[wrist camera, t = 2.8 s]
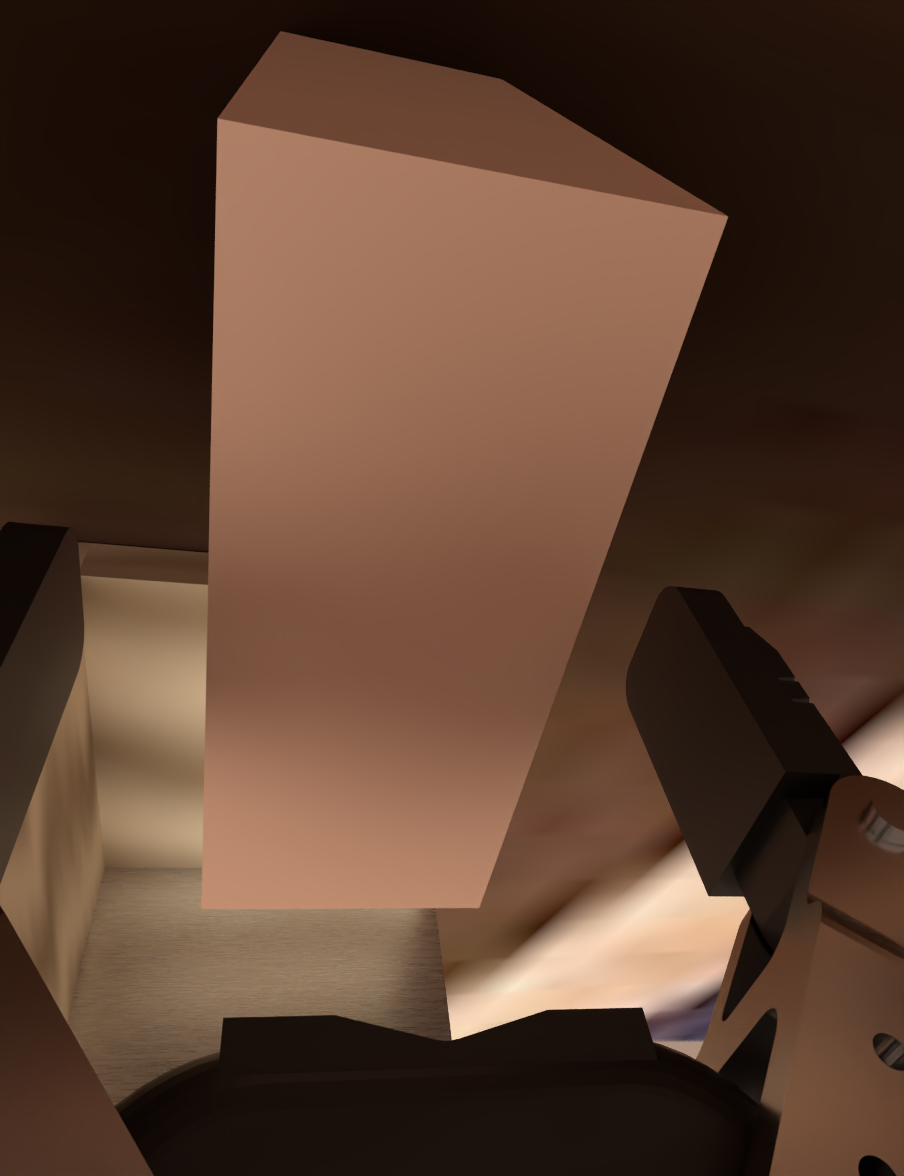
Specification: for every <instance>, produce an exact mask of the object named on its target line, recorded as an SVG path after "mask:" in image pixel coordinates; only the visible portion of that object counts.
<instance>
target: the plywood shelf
mask: <svg viewBox="0 0 904 1176" xmlns="http://www.w3.org/2000/svg"><path fill="white" fill-rule="evenodd" d="M78 546H79V560H80V573H81V586H82V600H83V613H84V645H83V653H82V659H81V664H80V668H79V671H78V674H77V677H76V680H75V682H74V685H73V688H72V691H71V693H70V696H69V699H68V701H67V704H66V707H65V710H64V712H63V715H62V718H61V721H60V723H59V726H58V729H57V731H56V734H55V737H54V740H53V742H52V745H51V748H50V750H49V753H48V756H47V759H46V761H45V764H44V767H43V769H42V772H41V775H40V778H39V780H38V783H37V786H36V788H35V791H34V794H33V797H32V799H31V802H30V805H29V808H28V810H27V813H26V816H25V818H24V821H23V824H22V827H21V829H20V832H19V835H18V837H17V840H16V843H15V846H14V848H13V851H12V854H11V856H10V859H9V862H8V865H7V867H6V870H5V873H4V875H3V878H2V881H1V884H0V906H1V908H2V909H3V911H4V912H5V914H6V915H7V917H8V919H9V920H10V922H11V924H12V926H13V927H14V929H15V931H16V933H17V935H18V936H19V938H20V940H21V942H22V943H23V945H24V947H25V949H26V950H27V952H28V954H29V956H30V958H31V959H32V961H33V963H34V965H35V966H36V968H37V970H38V972H39V973H40V975H41V977H42V979H43V981H44V982H45V984H46V986H47V988H48V989H49V991H50V993H51V995H52V997H53V998H54V1000H55V1002H56V1004H57V1005H58V1007H59V1009H60V1011H61V1012H62V1014H63V1016H64V1018H65V1020H66V1021H67V1020H68V1015H69V1011H70V1007H71V1003H72V999H73V995H74V991H75V987H76V983H77V979H78V975H79V970H80V966H81V962H82V958H83V954H84V950H85V946H86V942H87V938H88V934H89V929H90V925H91V921H92V917H93V913H94V909H95V905H96V901H97V897H98V893H99V888H100V884H101V880H102V876H103V872H104V868H202V857H203V809H204V760H205V711H206V662H207V613H208V565H209V553H205V552H192V551H180V550H168V549H156V548H144V547H132V546H120V545H108V544H96V543H84V542H78Z"/></svg>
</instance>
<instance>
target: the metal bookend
mask: <svg viewBox="0 0 904 1176" xmlns="http://www.w3.org/2000/svg"><path fill="white" fill-rule="evenodd" d="M201 906H202V868H104V872H103V876H102V880H101V884H100V888H99V893H98V897H97V901H96V905H95V909H94V913H93V917H92V921H91V925H90V929H89V934H88V938H87V942H86V946H85V950H84V954H83V958H82V962H81V966H80V970H79V975H78V979H77V983H76V987H75V991H74V995H73V999H72V1003H71V1007H70V1011H69V1015H68V1020H67V1023H68V1025H69V1027H70V1028H71V1030H72V1032H73V1034H74V1035H75V1037H76V1039H77V1041H78V1043H79V1044H80V1046H81V1048H82V1050H83V1051H84V1053H85V1055H86V1057H87V1058H88V1060H89V1062H90V1064H91V1066H92V1067H93V1069H94V1071H95V1073H96V1074H97V1076H98V1078H99V1080H100V1082H101V1083H102V1085H103V1087H104V1089H105V1090H106V1092H107V1094H108V1096H109V1097H110V1099H111V1101H112V1103H113V1105H114V1106H115V1105H116V1104H118V1103H119V1102H121V1101H122V1100H123V1099H125V1098H126V1097H127V1096H129V1095H130V1094H131V1093H133V1092H134V1091H135V1090H137V1089H138V1088H140V1087H141V1086H143V1085H145V1084H146V1083H148V1082H150V1081H152V1080H153V1079H155V1078H157V1077H158V1076H160V1075H162V1074H164V1073H165V1072H167V1071H169V1070H172V1069H174V1068H176V1067H178V1066H181V1065H183V1064H185V1063H187V1062H190V1061H192V1060H194V1059H197V1058H200V1057H204V1056H207V1055H210V1054H213V1053H216V1052H219V1051H220V1045H221V1035H222V1025H223V1018H231V1017H273V1016H315V1015H337V1016H341V1017H345V1018H349V1019H353V1020H358V1021H362V1022H366V1023H370V1024H374V1025H378V1026H382V1027H386V1028H390V1029H394V1030H399V1031H403V1032H407V1033H411V1034H415V1035H419V1036H423V1037H427V1038H431V1039H436V1040H442V1041H452V1039H451V1031H450V1022H449V1014H448V1006H447V997H446V989H445V981H444V972H443V964H442V956H441V947H440V939H439V931H438V922H437V914H436V908H375V909H201Z"/></svg>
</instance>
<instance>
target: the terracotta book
mask: <svg viewBox="0 0 904 1176" xmlns="http://www.w3.org/2000/svg"><path fill="white" fill-rule="evenodd" d="M727 218H728V216H726V215H725V214H723V213H722V212H720V211H718V210H717V209H715V208H713V207H712V206H710V205H708V204H707V203H705V202H703V201H702V200H700V199H698V198H697V197H695V196H693V195H692V194H690V193H689V192H687V191H685V190H684V189H682V188H680V187H679V186H677V185H675V184H674V183H672V182H670V181H669V180H667V179H665V178H664V177H662V176H660V175H659V174H657V173H656V172H654V171H652V170H651V169H649V168H647V167H646V166H644V165H642V164H641V163H639V162H637V161H636V160H634V159H632V158H631V157H629V156H627V155H626V154H624V153H623V152H621V151H619V150H618V149H616V148H614V147H613V146H611V145H609V144H608V143H606V142H604V141H603V140H601V139H599V138H598V137H596V136H594V135H593V134H591V133H590V132H588V131H586V130H585V129H583V128H581V127H580V126H578V125H576V124H575V123H573V122H571V121H570V120H568V119H566V118H565V117H563V116H561V115H560V114H558V113H557V112H555V111H553V110H552V109H550V108H548V107H547V106H545V105H543V104H542V103H540V102H538V101H537V100H535V99H533V98H532V97H530V96H529V95H527V94H525V93H524V92H522V91H520V90H519V89H517V88H515V87H514V86H512V85H510V84H509V83H507V82H505V81H504V80H502V79H498V78H494V77H489V76H484V75H480V74H475V73H471V72H466V71H461V70H457V69H452V68H448V67H443V66H438V65H434V64H429V63H425V62H420V61H415V60H411V59H406V58H402V57H397V56H392V55H388V54H383V53H379V52H374V51H369V50H365V49H360V48H356V47H351V46H346V45H342V44H337V43H333V42H328V41H323V40H319V39H314V38H310V37H305V36H300V35H296V34H291V33H287V32H282V31H281V32H280V33H279V34H278V36H277V37H276V38H275V40H274V41H273V43H272V44H271V45H270V47H269V48H268V50H267V51H266V52H265V54H264V55H263V56H262V58H261V59H260V61H259V62H258V63H257V65H256V66H255V67H254V69H253V70H252V72H251V73H250V74H249V76H248V77H247V79H246V80H245V81H244V83H243V84H242V85H241V87H240V88H239V90H238V91H237V92H236V94H235V95H234V97H233V98H232V99H231V101H230V102H229V103H228V105H227V106H226V108H225V109H224V110H223V112H222V113H221V115H220V116H219V117H218V125H217V174H216V223H215V272H214V321H213V369H212V418H211V467H210V516H209V565H208V613H207V662H206V711H205V760H204V809H203V857H202V906H201V909H375V908H479V907H480V904H481V901H482V899H483V896H484V893H485V890H486V887H487V885H488V882H489V879H490V876H491V874H492V871H493V868H494V865H495V862H496V860H497V857H498V854H499V851H500V849H501V846H502V843H503V840H504V837H505V835H506V832H507V829H508V826H509V824H510V821H511V818H512V815H513V812H514V810H515V807H516V804H517V801H518V799H519V796H520V793H521V790H522V787H523V785H524V782H525V779H526V776H527V774H528V771H529V768H530V765H531V762H532V760H533V757H534V754H535V751H536V749H537V746H538V743H539V740H540V738H541V735H542V732H543V729H544V726H545V724H546V721H547V718H548V715H549V713H550V710H551V707H552V704H553V701H554V699H555V696H556V693H557V690H558V688H559V685H560V682H561V679H562V676H563V674H564V671H565V668H566V665H567V663H568V660H569V657H570V654H571V651H572V649H573V646H574V643H575V640H576V638H577V635H578V632H579V629H580V626H581V624H582V621H583V618H584V615H585V613H586V610H587V607H588V604H589V601H590V599H591V596H592V593H593V590H594V588H595V585H596V582H597V579H598V577H599V574H600V571H601V568H602V565H603V563H604V560H605V557H606V554H607V552H608V549H609V546H610V543H611V540H612V538H613V535H614V532H615V529H616V527H617V524H618V521H619V518H620V515H621V513H622V510H623V507H624V504H625V502H626V499H627V496H628V493H629V490H630V488H631V485H632V482H633V479H634V477H635V474H636V471H637V468H638V465H639V463H640V460H641V457H642V454H643V452H644V449H645V446H646V443H647V440H648V438H649V435H650V432H651V429H652V427H653V424H654V421H655V418H656V415H657V413H658V410H659V407H660V404H661V402H662V399H663V396H664V393H665V391H666V388H667V385H668V382H669V379H670V377H671V374H672V371H673V368H674V366H675V363H676V360H677V357H678V354H679V352H680V349H681V346H682V343H683V341H684V338H685V335H686V332H687V329H688V327H689V324H690V321H691V318H692V316H693V313H694V310H695V307H696V304H697V302H698V299H699V296H700V293H701V291H702V288H703V285H704V282H705V279H706V277H707V274H708V271H709V268H710V266H711V263H712V260H713V257H714V254H715V252H716V249H717V246H718V243H719V241H720V238H721V235H722V232H723V230H724V227H725V224H726V221H727Z"/></svg>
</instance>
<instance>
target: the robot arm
mask: <svg viewBox="0 0 904 1176" xmlns="http://www.w3.org/2000/svg"><path fill="white" fill-rule="evenodd" d="M83 645H84V613H83V600H82V586H81V573H80V560H79V546H78V539H77V535H76V532H75V530H74V529H73V528H68V527H58V526H47V525H37V524H26V523H16V522H8V523H6V524H5V525H4V526H3V528H2V529H1V531H0V884H1V881H2V878H3V875H4V873H5V870H6V867H7V865H8V862H9V859H10V856H11V854H12V851H13V848H14V846H15V843H16V840H17V837H18V835H19V832H20V829H21V827H22V824H23V821H24V818H25V816H26V813H27V810H28V808H29V805H30V802H31V799H32V797H33V794H34V791H35V788H36V786H37V783H38V780H39V778H40V775H41V772H42V769H43V767H44V764H45V761H46V759H47V756H48V753H49V750H50V748H51V745H52V742H53V740H54V737H55V734H56V731H57V729H58V726H59V723H60V721H61V718H62V715H63V712H64V710H65V707H66V704H67V701H68V699H69V696H70V693H71V691H72V688H73V685H74V682H75V680H76V677H77V674H78V671H79V668H80V664H81V659H82V653H83ZM794 678H795V676H794V675H793V673H792V672H791V670H790V669H789V667H788V666H787V664H786V663H785V661H784V660H783V659H782V657H781V656H780V654H779V653H778V651H777V650H776V649H774V648H773V647H772V646H771V645H770V644H769V643H767V642H766V641H765V640H764V639H763V638H761V637H760V636H759V635H758V634H757V633H756V632H754V631H753V630H752V629H751V628H750V627H744V625H743V624H742V622H741V621H740V619H739V618H738V616H737V615H736V613H735V612H734V610H733V608H732V607H731V605H730V604H729V602H728V601H727V599H726V598H725V597H724V595H723V594H722V593H721V592H719V591H716V590H705V589H695V588H684V587H674V586H669V587H666V588H665V589H663V591H662V592H661V593H660V594H659V596H658V598H657V600H656V602H655V605H654V607H653V610H652V612H651V614H650V617H649V619H648V622H647V624H646V626H645V629H644V631H643V634H642V636H641V638H640V641H639V643H638V646H637V648H636V650H635V653H634V655H633V658H632V660H631V663H630V665H629V668H628V672H627V678H626V696H627V702H628V706H629V709H630V711H631V714H632V716H633V718H634V721H635V723H636V725H637V728H638V730H639V733H640V735H641V737H642V740H643V742H644V744H645V747H646V749H647V751H648V754H649V756H650V759H651V761H652V763H653V766H654V768H655V770H656V773H657V775H658V777H659V780H660V782H661V785H662V787H663V789H664V792H665V794H666V796H667V799H668V801H669V804H670V806H671V808H672V811H673V813H674V815H675V818H676V820H677V822H678V825H679V827H680V830H681V832H682V834H683V837H684V839H685V841H686V844H687V846H688V849H689V851H690V853H691V856H692V858H693V860H694V863H695V865H696V867H697V870H698V872H699V875H700V877H701V879H702V882H703V884H704V886H705V889H706V891H707V893H708V896H744V897H745V899H746V901H747V903H748V906H749V908H750V910H749V911H748V912H747V914H746V915H745V917H744V918H743V920H742V922H741V924H740V926H739V929H738V933H737V936H736V939H735V942H734V946H733V949H732V952H731V956H730V959H729V962H728V965H727V969H726V972H725V975H724V979H723V982H722V985H721V989H720V992H719V995H718V998H717V1002H716V1005H715V1008H714V1012H713V1015H712V1018H711V1021H710V1025H709V1028H708V1031H707V1034H706V1037H705V1040H704V1042H703V1045H702V1047H701V1050H700V1052H699V1054H698V1056H697V1058H696V1059H693V1058H692V1057H690V1056H688V1055H686V1054H684V1053H681V1052H679V1051H676V1050H674V1049H671V1048H669V1047H666V1046H664V1045H661V1044H657V1043H654V1042H653V1041H652V1038H651V1034H650V1031H649V1028H648V1025H647V1021H646V1018H645V1015H644V1012H643V1009H642V1008H608V1009H566V1010H546V1011H543V1012H540V1013H537V1014H534V1015H531V1016H528V1017H524V1018H521V1019H518V1020H515V1021H512V1022H509V1023H506V1024H503V1025H500V1026H497V1027H494V1028H491V1029H488V1030H485V1031H482V1032H478V1033H475V1034H472V1035H469V1036H466V1037H463V1038H460V1039H456V1040H452V1041H442V1040H436V1039H431V1038H427V1037H423V1036H419V1035H415V1034H411V1033H407V1032H403V1031H399V1030H394V1029H390V1028H386V1027H382V1026H378V1025H374V1024H370V1023H366V1022H362V1021H358V1020H353V1019H349V1018H345V1017H341V1016H337V1015H315V1016H273V1017H231V1018H223V1025H222V1035H221V1045H220V1051H219V1052H216V1053H213V1054H210V1055H207V1056H204V1057H200V1058H197V1059H194V1060H192V1061H190V1062H187V1063H185V1064H183V1065H181V1066H178V1067H176V1068H174V1069H172V1070H169V1071H167V1072H165V1073H164V1074H162V1075H160V1076H158V1077H157V1078H155V1079H153V1080H152V1081H150V1082H148V1083H146V1084H145V1085H143V1086H141V1087H140V1088H138V1089H137V1090H135V1091H134V1092H133V1093H131V1094H130V1095H129V1096H127V1097H126V1098H125V1099H123V1100H122V1101H121V1102H119V1103H118V1104H116V1105H115V1106H114V1105H113V1103H112V1101H111V1099H110V1097H109V1096H108V1094H107V1092H106V1090H105V1089H104V1087H103V1085H102V1083H101V1082H100V1080H99V1078H98V1076H97V1074H96V1073H95V1071H94V1069H93V1067H92V1066H91V1064H90V1062H89V1060H88V1058H87V1057H86V1055H85V1053H84V1051H83V1050H82V1048H81V1046H80V1044H79V1043H78V1041H77V1039H76V1037H75V1035H74V1034H73V1032H72V1030H71V1028H70V1027H69V1025H68V1023H67V1021H66V1020H65V1018H64V1016H63V1014H62V1012H61V1011H60V1009H59V1007H58V1005H57V1004H56V1002H55V1000H54V998H53V997H52V995H51V993H50V991H49V989H48V988H47V986H46V984H45V982H44V981H43V979H42V977H41V975H40V973H39V972H38V970H37V968H36V966H35V965H34V963H33V961H32V959H31V958H30V956H29V954H28V952H27V950H26V949H25V947H24V945H23V943H22V942H21V940H20V938H19V936H18V935H17V933H16V931H15V929H14V927H13V926H12V924H11V922H10V920H9V919H8V917H7V915H6V914H5V912H4V911H3V909H2V908H1V906H0V1176H904V790H902V789H900V788H899V787H897V786H895V785H893V784H890V783H888V782H886V781H883V780H880V779H877V778H873V777H868V776H863V775H862V774H861V772H860V771H859V770H858V768H857V767H856V765H855V764H854V762H853V761H852V759H851V758H850V756H849V755H848V754H847V752H846V751H845V749H844V748H843V746H842V745H841V743H840V742H839V740H838V739H837V737H836V736H835V735H834V733H833V732H832V730H831V729H830V727H829V726H828V724H827V723H826V721H825V720H824V718H823V717H822V716H821V714H820V713H819V711H818V710H817V708H816V707H815V705H814V704H813V703H809V697H808V695H807V694H806V692H805V691H804V689H803V688H802V686H801V685H800V683H799V682H795V681H794Z"/></svg>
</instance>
